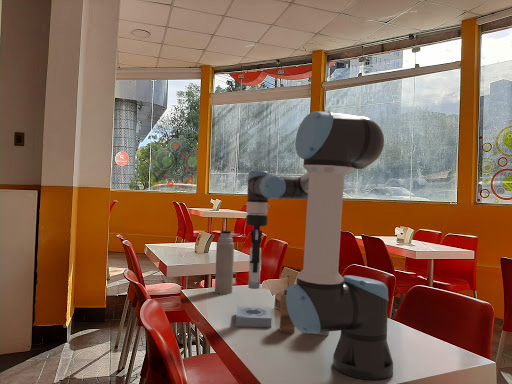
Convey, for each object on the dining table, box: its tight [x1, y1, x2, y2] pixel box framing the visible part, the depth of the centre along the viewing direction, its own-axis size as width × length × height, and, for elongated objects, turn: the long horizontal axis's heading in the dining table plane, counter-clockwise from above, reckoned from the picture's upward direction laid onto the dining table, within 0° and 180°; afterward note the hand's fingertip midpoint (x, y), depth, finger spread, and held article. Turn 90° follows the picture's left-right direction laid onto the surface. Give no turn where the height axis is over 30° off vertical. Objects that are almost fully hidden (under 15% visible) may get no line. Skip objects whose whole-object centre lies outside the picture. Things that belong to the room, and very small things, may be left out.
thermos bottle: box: [214, 230, 235, 295], centre depth 184 cm, size 8×8×28 cm
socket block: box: [235, 305, 272, 328], centre depth 142 cm, size 14×12×3 cm
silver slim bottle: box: [247, 243, 262, 290], centre depth 142 cm, size 4×4×16 cm
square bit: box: [279, 287, 296, 334], centre depth 132 cm, size 4×4×14 cm
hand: (254, 280), depth 142 cm, fingers closed on silver slim bottle, 4 cm apart
